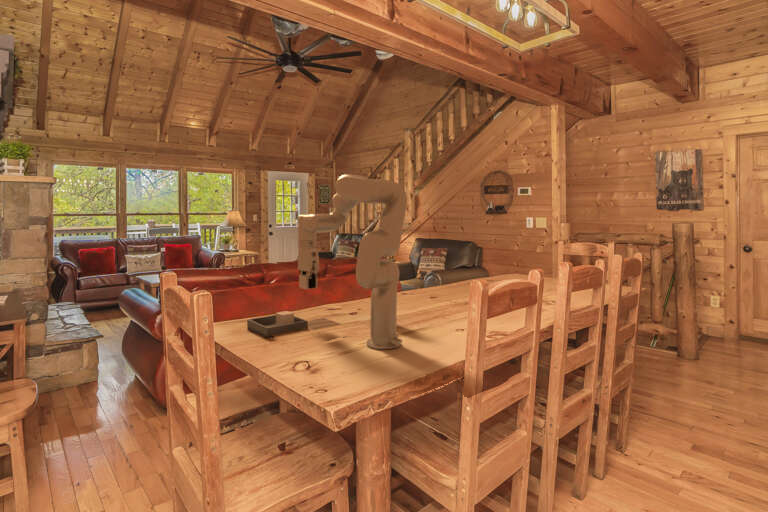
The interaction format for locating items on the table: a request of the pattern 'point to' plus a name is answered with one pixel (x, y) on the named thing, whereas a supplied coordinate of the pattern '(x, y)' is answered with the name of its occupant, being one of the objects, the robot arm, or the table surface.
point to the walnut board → (321, 323)
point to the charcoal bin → (274, 326)
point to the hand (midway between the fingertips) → (308, 286)
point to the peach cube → (284, 318)
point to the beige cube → (305, 281)
